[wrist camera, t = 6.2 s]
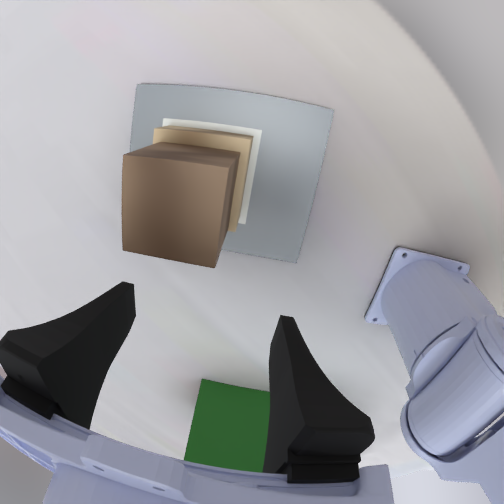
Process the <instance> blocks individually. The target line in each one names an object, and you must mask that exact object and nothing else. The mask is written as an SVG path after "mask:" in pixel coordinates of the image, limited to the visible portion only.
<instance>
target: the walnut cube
mask: <svg viewBox="0 0 504 504" xmlns="http://www.w3.org/2000/svg"><path fill="white" fill-rule="evenodd" d="M239 158H240V152H236V151H230V150H223V149H217V148H209V147H202V146H194V145H186V144H177V143H168V142H158V143H155V144H152V145H149V146H147V147H144V148H141V149H138V150H135V151H133V152H130V153H127V154H124V155H123V169H122V244H123V250H124V251H129V252H133V253H138V254H143V255H148V256H153V257H158V258H163V259H168V260H174V261H179V262H184V263H189V264H194V265H200V266H205V267H210V268H215V266H216V263H217V260H218V257H219V254H220V251H221V248H222V245H223V243H224V240H225V237H226V234H227V231H228V227H229V220H230V214H231V207H232V201H233V195H234V188H235V182H236V176H237V170H238V164H239Z"/></svg>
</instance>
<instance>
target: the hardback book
mask: <svg viewBox="0 0 504 504" xmlns="http://www.w3.org/2000/svg"><path fill="white" fill-rule="evenodd" d="M269 414H270V392H267V391H261V390H255V389H249V388H244V387H238V386H233V385H228V384H224V383H219V382H214V381H210V380H206V379H202V381H201V385H200V389H199V394H198V398H197V402H196V407H195V411H194V416H193V420H192V425H191V429H190V434H189V438H188V443H187V447H186V452H185V457H184V461H188V462H193V463H198V464H203V465H208V466H214V467H220V468H226V469H233V470H240V471H249V472H258V473H262V471H263V465H264V458H265V451H266V443H267V434H268V425H269Z"/></svg>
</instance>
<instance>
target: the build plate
mask: <svg viewBox="0 0 504 504" xmlns="http://www.w3.org/2000/svg"><path fill="white" fill-rule="evenodd" d="M333 113H334V110H332V109H328V108H324V107H320V106H316V105H312V104H308V103H303V102H299V101H294V100H290V99H285V98H279V97H274V96H269V95H263V94H257V93H250V92H243V91H236V90H228V89H220V88H210V87H199V86H185V85H163V84H137V87H136V95H135V102H134V111H133V120H132V130H131V142H130V152H133V151H135V150H138V149H141V148H144V147H147V146H149V145H152V144H153V135H154V128H158V127H163V126H169V125H170V126H181V127H191V128H200V129H208V130H216V131H224V132H231V133H237V134H244V135H250V136H254V137H253V142H252V148H251V153H250V159H249V165H248V171H247V176H246V182H245V188H244V194H243V200H242V206H241V212H240V218H239V221H238V225H237V228H236V232H231V231H227V234H226V237H225V240H224V243H223V245H222V248H221V250H225V251H231V252H236V253H242V254H248V255H253V256H259V257H264V258H270V259H276V260H281V261H287V262H292V263H297V260H298V257H299V253H300V249H301V246H302V242H303V238H304V235H305V231H306V227H307V223H308V219H309V216H310V212H311V208H312V204H313V200H314V196H315V192H316V188H317V184H318V180H319V175H320V171H321V167H322V163H323V159H324V154H325V150H326V145H327V141H328V137H329V132H330V127H331V123H332V118H333Z"/></svg>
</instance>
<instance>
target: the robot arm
mask: <svg viewBox="0 0 504 504" xmlns="http://www.w3.org/2000/svg"><path fill="white" fill-rule="evenodd" d="M403 253H406V254H405V255H404V256H402V255H403ZM459 266H460V267H459ZM458 267H459V268H458ZM469 269H470V266H469V265H468V264H467V263H463V262H459V261H455V260H451V259H447V258H443V257H439V256H435V255H431V254H427V253H422V252H418V251H414V250H410V249H406V248H401V247H398V248H396V249H395V250H394V252H393V255H392V257H391V260H390V262H389V265H388V267H387V269H386V272H385V274H384V276H383V279H382V281H381V283H380V286H379V288H378V290H377V292H376V294H375V297H374V299H373V301H372V303H371V305H370V307H369V309H368V312H367V314H366V316H365V320H366V322H368V323H375V324H385V325H389V327H390V329H391V332H392V334H393V336H394V339H395V341H396V343H397V346H398V348H399V350H400V353H401V355H402V358H403V360H404V363H405V365H406V368H407V371H408V373H409V376H410V378H411V380H410V383H409V384H408V385H407V386H406V390H407V393H408V396H409V400H408V401H407V402H406V403H405V405H404V407H403V408H402V411H401V417H400V422H401V429H402V432H403V436H404V438H405V440H406V442H407V444H408V445H409V447H410V448H411V449H412V450H413V451H414V452H415V453H416V454H417V455H418V456H420V457H421V458H423V459H424V460H426V461H427V462H428V463H429V464H430V465H431V466H432V467H433V468H434V469H435V471H436V472H437V473H438V475H439V477H440V478H441V479H442V480H446V481H455V482H471V483H479V484H480V485H481V487H482V488H483V490H484V492H485V493H486V495H487V497H488V498H489V500H490V502H491V504H504V416H503V417H502V418H501V419H500V420H499V421H497V422H496V423H495V424H494V425H493V426H492V427H490V428H489V429H488V430H487V431H485V432H484V433H483V434H481V435H480V436H478V437H475V436H476V435H478V434H479V433H480V432H481V431H483V430H484V429H485V428H486V427H488V426H489V425H490V424H491V423H492V422H493V421H494V420H496V419H497V418H498V417H499V416H500V415H501V414H502V413H503V412H504V318H503V317H501V316H499V315H497V312H496V310H495V308H494V307H493V306H492V304H491V303H490V302H489V301H488V300H487V298H486V297H485V296H484V295H483V294H482V292H481V291H480V290H479V289H478V288H477V287H476V285H475V284H474V283H473V282H472V281H471V280H470V279H469V277H468V276H467V274H468V272H469ZM135 317H136V310H135V296H134V284H131V283H127V282H121V283H120V284H118V285H116V286H115V287H113V288H112V289H110V290H109V291H107V292H106V293H104V294H102V295H101V296H99V297H98V298H96V299H94V300H93V301H91V302H89V303H88V304H86V305H84V306H82V307H81V308H79V309H77V310H75V311H73V312H71V313H69V314H67V315H65V316H62V317H60V318H57V319H55V320H52V321H49V322H46V323H43V324H40V325H36V326H32V327H28V328H23V329H17V330H10V331H8V332H7V333H6V334H5V335H4V337H3V338H2V339H1V340H0V364H1V365H2V367H3V369H4V371H5V372H6V374H7V377H6V378H5V380H4V378H3V377H1V376H0V437H2V438H3V439H5V440H6V441H7V442H9V443H10V444H11V445H12V446H14V447H15V448H17V449H18V450H19V451H21V452H22V453H24V454H25V455H27V456H28V457H30V458H31V459H33V460H34V461H36V462H37V463H39V464H40V465H42V466H44V467H45V468H47V469H48V470H50V471H52V472H53V473H54V474H53V476H52V479H51V481H50V484H49V486H48V489H47V492H46V494H45V497H44V500H43V502H42V504H394V500H393V492H392V486H391V480H390V474H389V468H388V465H387V464H384V465H375V466H367V467H362V468H360V469H359V467H358V463H359V462H360V461H361V457H360V454H361V453H362V452H363V451H364V450H365V449H367V448H368V447H369V446H370V445H371V444H372V443H373V441H374V439H375V434H374V429H373V425H372V422H371V419H370V417H368V416H367V415H366V414H364V413H363V412H362V411H360V410H359V409H358V408H356V407H355V406H354V405H353V404H352V403H351V402H350V401H348V400H347V399H346V398H345V397H344V396H343V395H342V394H341V393H340V392H339V391H338V390H337V389H336V387H335V386H334V385H333V384H332V383H331V382H330V381H329V379H328V378H327V377H326V376H325V374H324V373H323V371H322V370H321V369H320V367H319V366H318V364H317V363H316V361H315V359H314V358H313V356H312V354H311V353H310V351H309V349H308V347H307V345H306V343H305V341H304V339H303V337H302V335H301V333H300V331H299V329H298V327H297V324H296V322H295V320H294V318H293V317H289V316H283V315H280V318H279V321H278V324H277V327H276V330H275V333H274V336H273V339H272V342H271V346H270V357H269V382H270V414H269V425H268V434H267V443H266V451H265V458H264V465H263V471H262V473H258V472H249V471H240V470H233V469H226V468H220V467H214V466H208V465H203V464H198V463H193V462H188V461H184V460H180V459H175V458H171V457H168V456H164V455H160V454H156V453H153V452H150V451H146V450H143V449H140V448H137V447H133V446H130V445H127V444H125V443H122V442H119V441H116V440H113V439H111V438H108V437H106V436H103V435H100V434H98V433H96V432H93V431H91V430H89V429H90V425H91V420H92V416H93V413H94V409H95V406H96V402H97V399H98V396H99V393H100V390H101V387H102V385H103V382H104V379H105V377H106V374H107V372H108V370H109V367H110V365H111V363H112V362H113V360H114V358H115V356H116V355H117V353H118V351H119V349H120V347H121V346H122V344H123V342H124V340H125V339H126V337H127V335H128V333H129V331H130V329H131V327H132V324H133V322H134V319H135ZM373 318H375V319H373ZM474 437H475V438H474Z"/></svg>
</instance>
